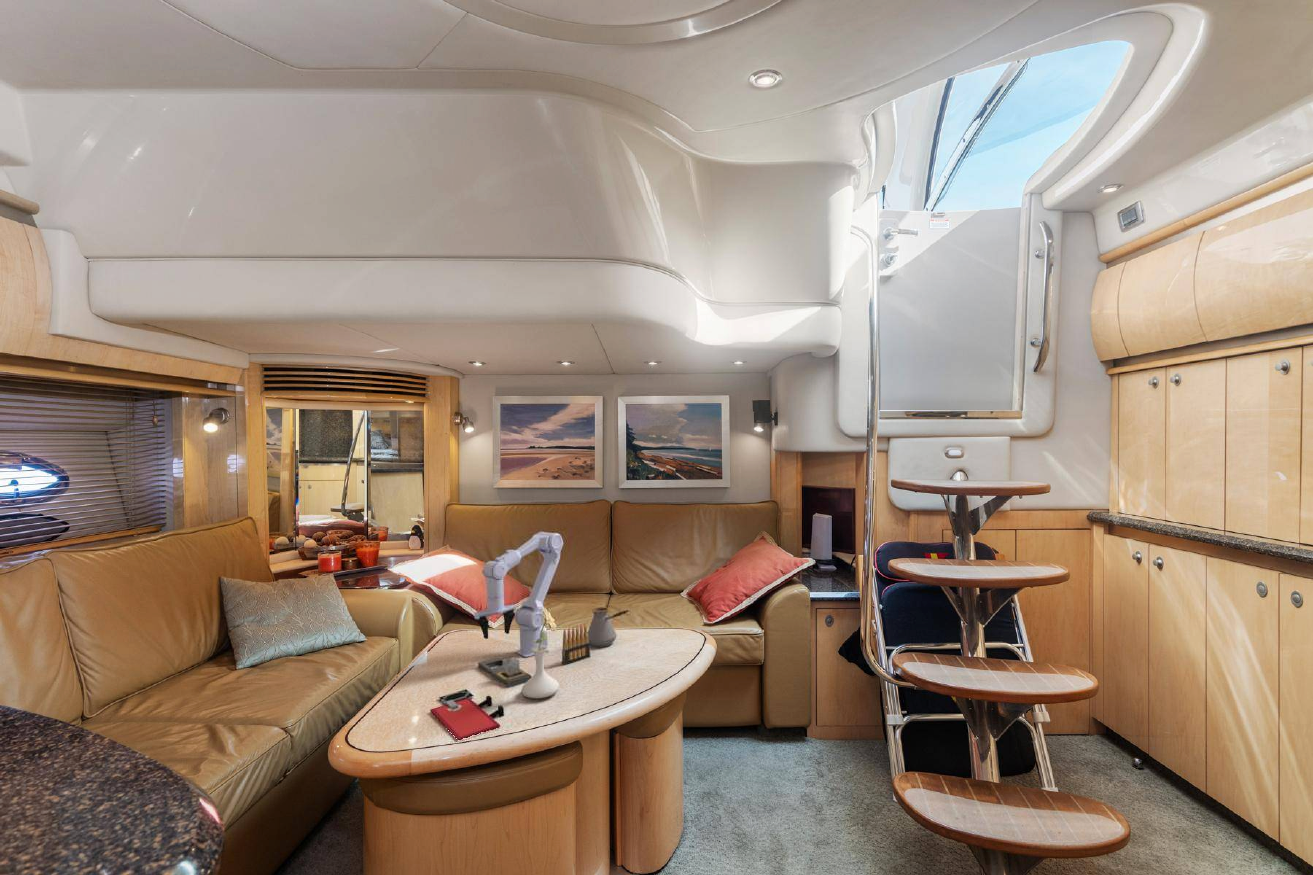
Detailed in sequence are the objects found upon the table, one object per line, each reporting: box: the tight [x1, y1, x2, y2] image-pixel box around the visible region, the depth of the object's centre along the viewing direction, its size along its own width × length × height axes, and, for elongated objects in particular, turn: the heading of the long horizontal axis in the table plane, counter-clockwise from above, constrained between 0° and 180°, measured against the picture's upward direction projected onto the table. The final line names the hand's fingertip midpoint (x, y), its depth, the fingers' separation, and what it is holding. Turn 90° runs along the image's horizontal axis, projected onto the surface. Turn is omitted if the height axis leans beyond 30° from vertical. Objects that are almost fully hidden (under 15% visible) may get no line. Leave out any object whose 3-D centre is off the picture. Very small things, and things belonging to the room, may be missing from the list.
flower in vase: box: [521, 607, 561, 699], centre depth 182 cm, size 13×11×25 cm
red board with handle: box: [429, 688, 505, 741], centre depth 170 cm, size 30×3×15 cm
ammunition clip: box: [561, 622, 591, 666], centre depth 209 cm, size 11×2×12 cm, turn 133°
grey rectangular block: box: [502, 656, 521, 678], centre depth 194 cm, size 4×4×6 cm
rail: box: [477, 656, 533, 689], centre depth 199 cm, size 8×24×2 cm, turn 38°
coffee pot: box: [587, 606, 632, 648], centre depth 223 cm, size 21×12×15 cm, turn 47°
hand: (496, 635), depth 208 cm, fingers open, 7 cm apart
